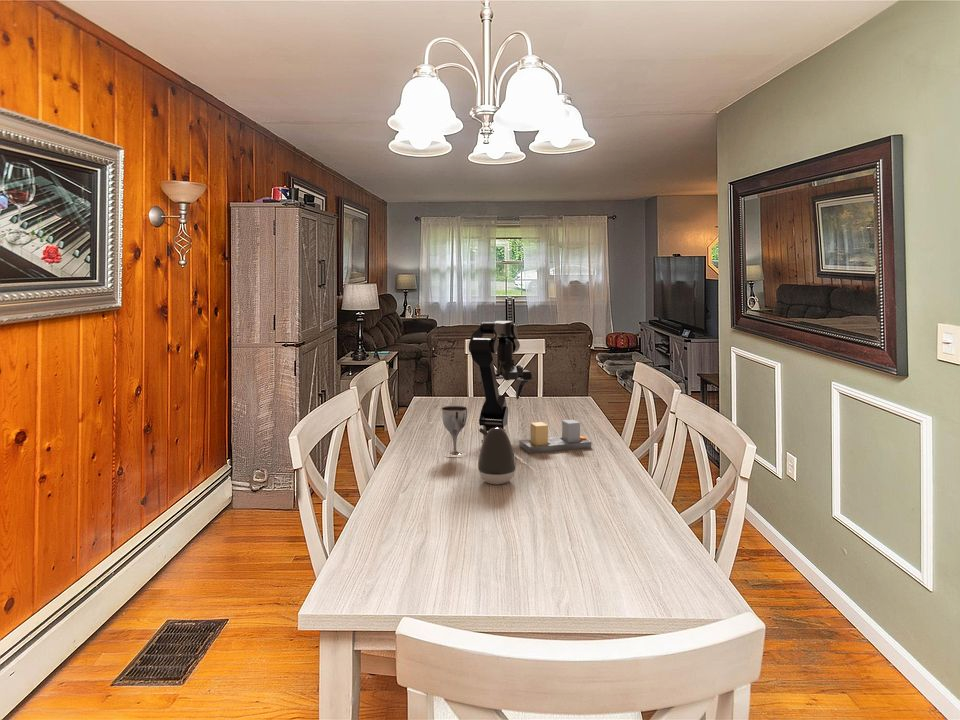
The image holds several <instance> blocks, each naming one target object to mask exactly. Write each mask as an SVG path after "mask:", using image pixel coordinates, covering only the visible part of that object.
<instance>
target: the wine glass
mask: <svg viewBox="0 0 960 720" xmlns="http://www.w3.org/2000/svg"><path fill="white" fill-rule="evenodd" d="M467 417H468V408H467V407H466V406H464V405H447V406H443V407H442V408H441V418H442V419H441V420H442V424H443V426H444V428H445V429H446V430H447V431H448V432H449V434H450V435H451V437H452V442H453V451H449V452H450V454H452V455H461V454H462V453H461V452H462V451H458V450H457V440H458V436H459V434H460V433H461V432H462V431H463V429H464V428H465V426H466V422H467Z"/></svg>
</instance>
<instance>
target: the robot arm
mask: <svg viewBox="0 0 960 720" xmlns="http://www.w3.org/2000/svg"><path fill="white" fill-rule="evenodd" d="M484 335H488V336H489V335H493V336H494V338H493V337H491V338H489V337H483V336H484ZM518 339H519V334H518V328H517V324H515V322H514V321H513V320H495V321H483V322H480V325H479V328H478V329H476V331H474V332H473V333H472V334H471V336H470V340H469V343H468V351H469V353H470V356H471V358H472V360H473V361H474V363H476V365H478V367H479V372H478V373H477V381H479V382H481V383H482V388H483V393H484V394H483V395H484V398H485V400H484V401H483V404H482V407H481V409H480V414H479V419H478V424H479V426H483V428H482V429H484V430H486V431H489V430H490V429H492V428H494V427H499V428H502V429H503V430H504V431H505V432H506V429H505V428H504V427H506V426H507V425H508V420H509V419H508V418H509V407H508V406H507V402H506V397H505V395H504V394H500V393H499V386H498V381H497V380H501V379H502V380H505V381H511V380H512V381H515V399H516V400H519V398H520V396H521V392H522V389H524V388H523V387H524V385H525V384H526V383H529V381H530V380H531V381H532V380H533V373H532V372H531V371H530V370H527V369H524V366H523V365H522V364H521V365H520V364H519V365H515V359H514V353H517V352H518V351H519V349H520V347H521V344H520V342H519V340H518ZM495 356H496V358H495ZM494 359H495V362H496V369H495V365H494ZM482 435H483V437H482V438H483V439H481V442H482V443H483V440H484V438H485V435H484V434H482Z"/></svg>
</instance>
